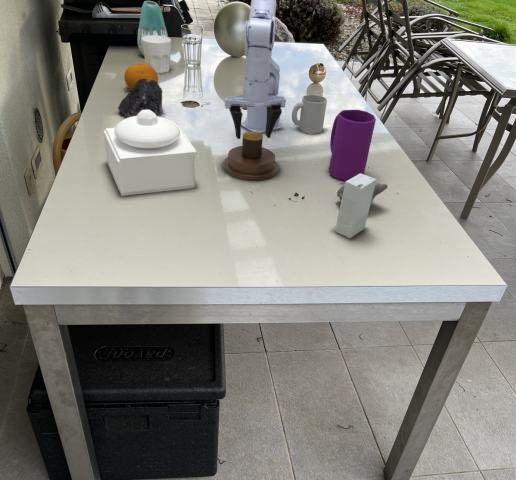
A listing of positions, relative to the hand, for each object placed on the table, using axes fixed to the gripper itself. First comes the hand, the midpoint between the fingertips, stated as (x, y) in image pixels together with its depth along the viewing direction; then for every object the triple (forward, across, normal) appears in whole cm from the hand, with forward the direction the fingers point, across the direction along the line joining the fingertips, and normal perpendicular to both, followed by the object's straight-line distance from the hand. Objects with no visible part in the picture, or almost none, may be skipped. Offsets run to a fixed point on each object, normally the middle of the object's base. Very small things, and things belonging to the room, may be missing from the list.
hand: (253, 137), depth 132 cm
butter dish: (+8, -26, -1) cm, 27 cm away
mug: (+8, +24, -3) cm, 26 cm away
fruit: (+8, -22, +60) cm, 65 cm away
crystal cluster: (+8, -24, +40) cm, 47 cm away
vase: (+8, -13, +99) cm, 100 cm away
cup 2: (+8, +23, +24) cm, 35 cm away
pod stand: (+8, 0, 0) cm, 8 cm away
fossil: (+8, +21, -23) cm, 32 cm away
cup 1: (+8, -14, +82) cm, 84 cm away
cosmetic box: (+8, +14, -33) cm, 37 cm away
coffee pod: (+5, 0, 0) cm, 5 cm away
